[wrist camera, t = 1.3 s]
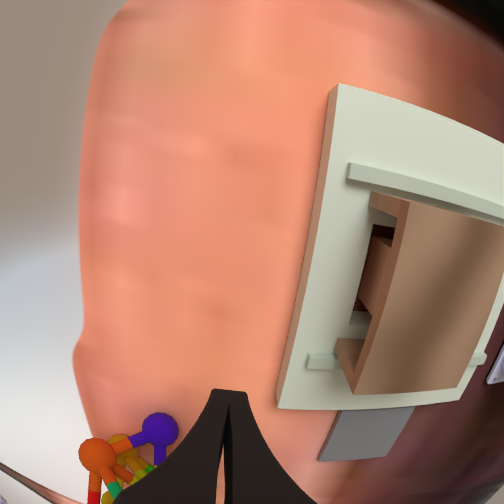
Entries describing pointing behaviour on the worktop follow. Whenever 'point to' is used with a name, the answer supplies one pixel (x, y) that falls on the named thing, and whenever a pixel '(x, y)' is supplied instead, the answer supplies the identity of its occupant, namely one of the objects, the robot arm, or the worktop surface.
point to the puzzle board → (360, 227)
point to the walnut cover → (426, 300)
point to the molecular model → (125, 456)
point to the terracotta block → (374, 271)
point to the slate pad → (364, 433)
